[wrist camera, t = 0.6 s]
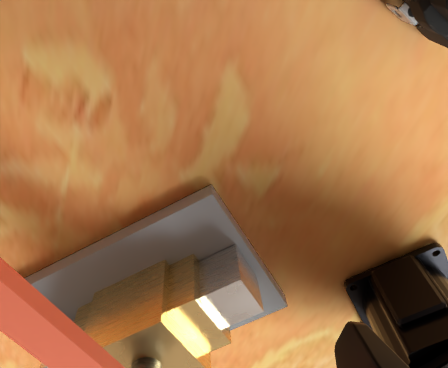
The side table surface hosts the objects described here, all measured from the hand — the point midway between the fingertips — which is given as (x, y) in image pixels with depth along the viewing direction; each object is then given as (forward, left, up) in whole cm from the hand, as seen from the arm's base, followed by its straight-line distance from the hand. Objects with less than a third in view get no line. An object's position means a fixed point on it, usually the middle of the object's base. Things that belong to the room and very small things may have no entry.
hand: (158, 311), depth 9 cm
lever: (-5, +8, -6) cm, 11 cm away
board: (-10, +8, -13) cm, 18 cm away
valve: (-10, +8, -13) cm, 18 cm away
